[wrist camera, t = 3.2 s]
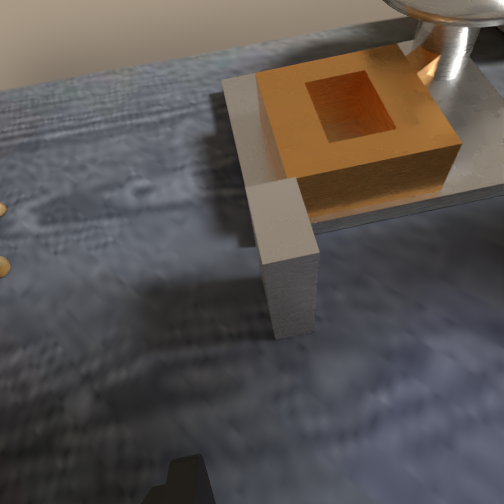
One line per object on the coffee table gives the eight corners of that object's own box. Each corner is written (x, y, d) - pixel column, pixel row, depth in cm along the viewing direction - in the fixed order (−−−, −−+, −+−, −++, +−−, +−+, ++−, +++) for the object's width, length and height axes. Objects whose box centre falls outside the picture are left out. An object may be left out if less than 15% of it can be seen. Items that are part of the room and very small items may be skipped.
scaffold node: (468, 26, 40) (549, -203, 27) (596, 175, 29) (836, -83, 16) (220, 77, 40) (180, -126, 27) (258, 246, 29) (223, 45, 16)
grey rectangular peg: (297, 273, 28) (295, 177, 19) (313, 332, 26) (319, 252, 17) (262, 280, 28) (245, 187, 19) (275, 340, 26) (262, 264, 17)
